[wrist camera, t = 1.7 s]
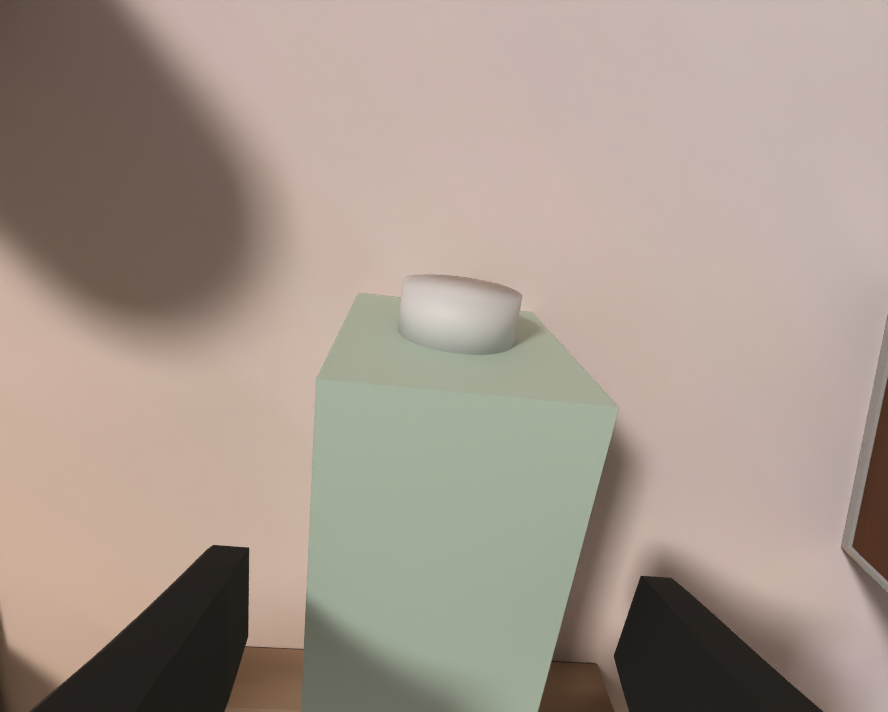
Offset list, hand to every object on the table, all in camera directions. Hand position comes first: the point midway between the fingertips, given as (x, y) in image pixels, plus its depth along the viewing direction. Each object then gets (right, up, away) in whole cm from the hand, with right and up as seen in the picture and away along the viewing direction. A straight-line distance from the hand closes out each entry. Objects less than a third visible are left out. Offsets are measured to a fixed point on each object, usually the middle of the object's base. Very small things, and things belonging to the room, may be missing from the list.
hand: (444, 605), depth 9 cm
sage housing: (-1, +2, +5) cm, 6 cm away
